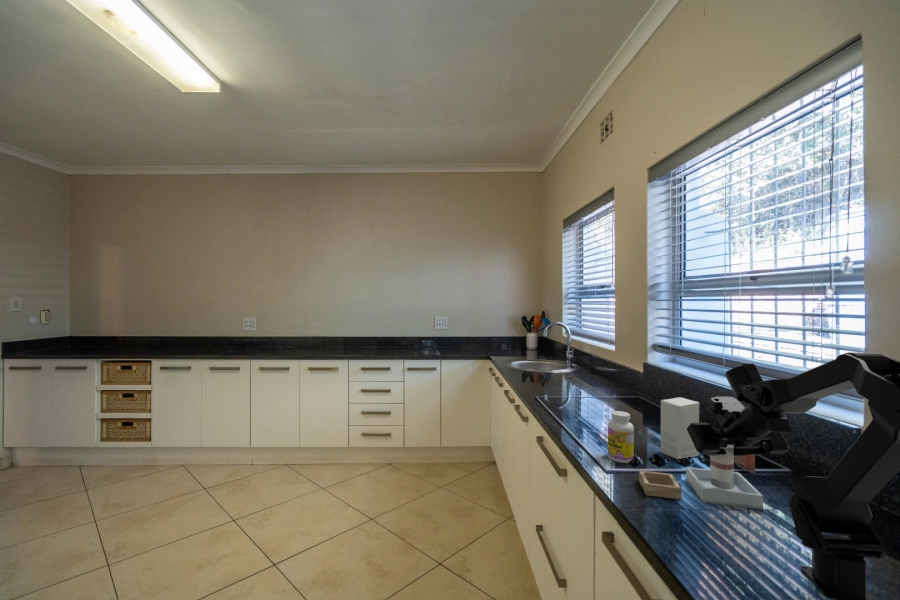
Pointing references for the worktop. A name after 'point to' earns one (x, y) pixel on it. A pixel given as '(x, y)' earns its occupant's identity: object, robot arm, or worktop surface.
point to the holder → (659, 484)
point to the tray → (724, 490)
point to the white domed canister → (723, 469)
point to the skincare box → (678, 427)
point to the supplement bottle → (620, 438)
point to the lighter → (746, 462)
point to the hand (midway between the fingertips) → (717, 453)
